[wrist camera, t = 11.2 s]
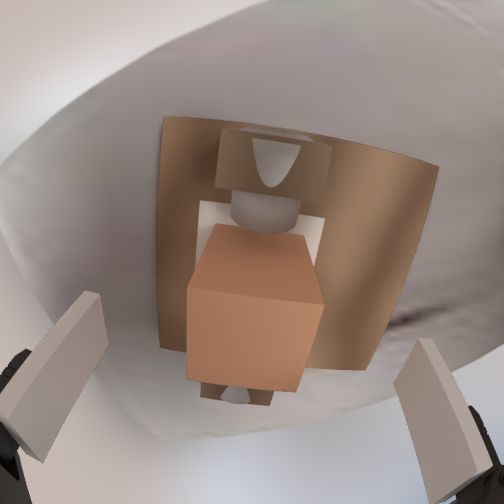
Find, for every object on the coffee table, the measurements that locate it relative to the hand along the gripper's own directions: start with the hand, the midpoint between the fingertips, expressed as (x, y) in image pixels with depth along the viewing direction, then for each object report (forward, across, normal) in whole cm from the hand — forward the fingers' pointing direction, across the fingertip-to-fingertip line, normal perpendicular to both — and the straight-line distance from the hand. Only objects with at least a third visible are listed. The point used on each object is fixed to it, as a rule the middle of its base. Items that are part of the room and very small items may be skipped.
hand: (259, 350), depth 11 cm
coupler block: (+7, -1, 0) cm, 7 cm away
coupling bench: (+9, +1, 0) cm, 9 cm away
